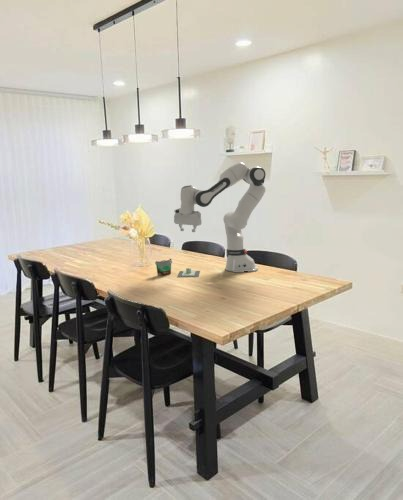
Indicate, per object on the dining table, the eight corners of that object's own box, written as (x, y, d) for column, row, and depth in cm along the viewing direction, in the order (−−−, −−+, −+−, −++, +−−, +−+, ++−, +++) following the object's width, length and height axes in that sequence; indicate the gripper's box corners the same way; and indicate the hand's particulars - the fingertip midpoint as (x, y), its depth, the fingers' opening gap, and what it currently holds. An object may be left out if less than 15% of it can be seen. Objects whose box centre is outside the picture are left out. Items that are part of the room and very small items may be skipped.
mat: (200, 271, 269) (200, 270, 269) (198, 277, 252) (198, 277, 252) (179, 271, 270) (179, 271, 270) (176, 278, 253) (176, 277, 253)
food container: (161, 277, 255) (160, 262, 254) (155, 276, 260) (155, 261, 258) (176, 274, 263) (175, 259, 261) (171, 272, 268) (170, 258, 266)
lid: (195, 271, 267) (195, 266, 266) (194, 276, 254) (193, 270, 254) (183, 271, 268) (183, 266, 267) (181, 276, 255) (181, 270, 254)
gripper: (203, 210, 256) (203, 232, 258) (178, 209, 267) (178, 229, 269) (197, 211, 250) (197, 233, 253) (172, 210, 262) (172, 231, 264)
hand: (187, 231), depth 261 cm, fingers open, 8 cm apart
